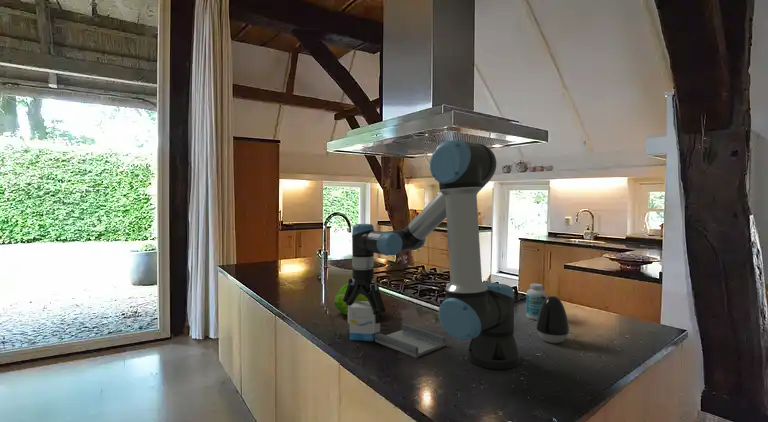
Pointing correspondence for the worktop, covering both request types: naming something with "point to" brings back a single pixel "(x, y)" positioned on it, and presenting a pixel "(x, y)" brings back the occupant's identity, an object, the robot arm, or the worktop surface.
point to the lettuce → (340, 296)
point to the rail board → (411, 341)
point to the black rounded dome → (552, 320)
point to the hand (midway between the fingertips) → (363, 327)
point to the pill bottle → (534, 300)
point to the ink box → (361, 321)
